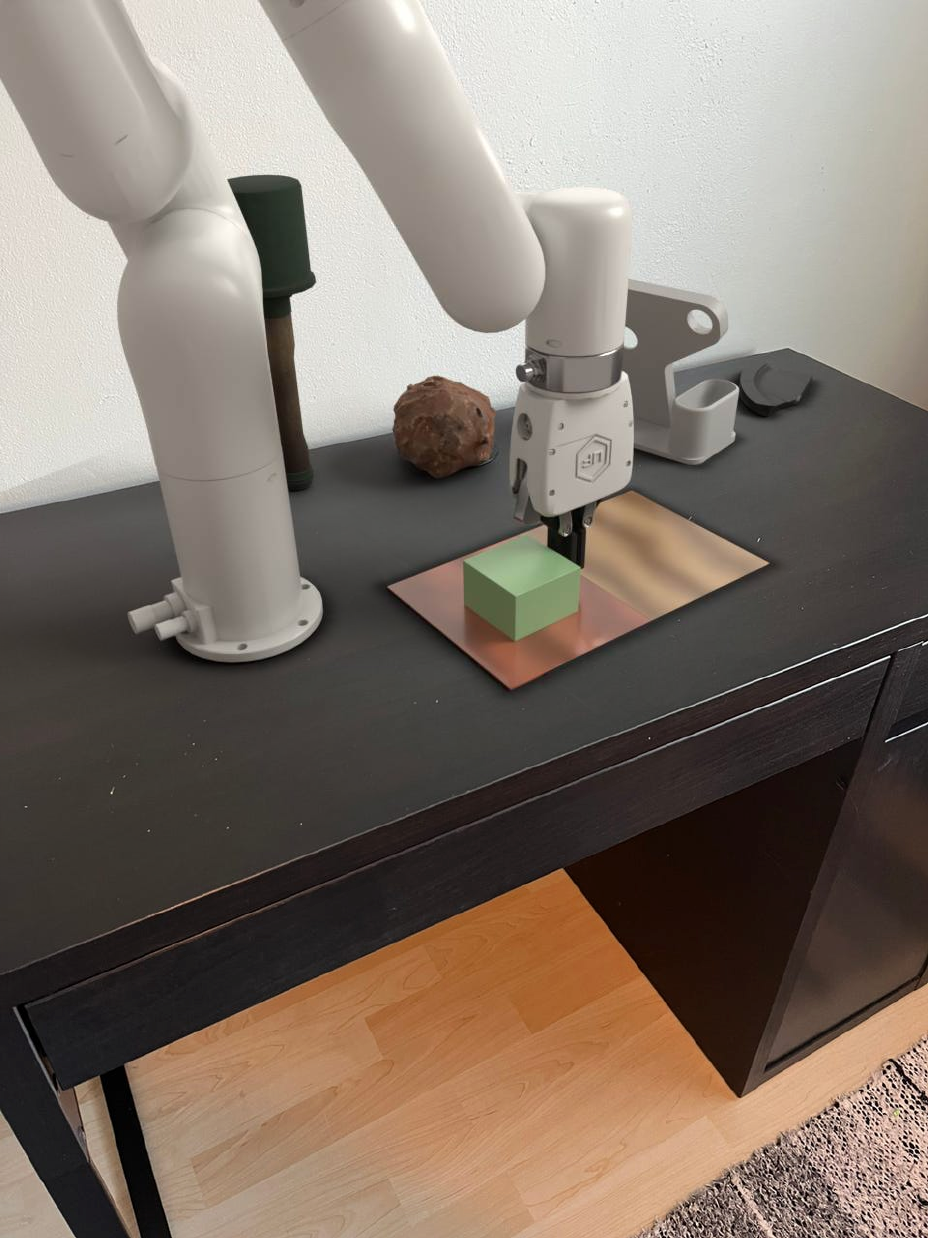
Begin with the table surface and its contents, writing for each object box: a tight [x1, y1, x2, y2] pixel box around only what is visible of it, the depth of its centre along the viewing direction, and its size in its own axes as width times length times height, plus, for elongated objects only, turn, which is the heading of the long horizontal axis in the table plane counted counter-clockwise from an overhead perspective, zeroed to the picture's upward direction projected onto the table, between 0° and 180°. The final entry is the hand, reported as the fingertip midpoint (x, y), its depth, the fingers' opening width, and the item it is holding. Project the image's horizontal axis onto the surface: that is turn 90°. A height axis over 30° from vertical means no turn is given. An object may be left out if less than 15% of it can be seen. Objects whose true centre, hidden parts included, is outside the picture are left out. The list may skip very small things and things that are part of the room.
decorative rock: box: [391, 375, 497, 479], centre depth 103 cm, size 13×11×10 cm
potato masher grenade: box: [226, 174, 317, 492], centre depth 94 cm, size 8×9×30 cm
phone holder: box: [622, 278, 740, 466], centre depth 106 cm, size 17×10×18 cm, turn 49°
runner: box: [386, 490, 770, 691], centre depth 87 cm, size 30×18×1 cm, turn 126°
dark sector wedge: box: [738, 360, 813, 418], centre depth 120 cm, size 8×14×2 cm, turn 150°
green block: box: [463, 534, 581, 641], centre depth 81 cm, size 7×7×4 cm
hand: (565, 564), depth 85 cm, fingers closed
